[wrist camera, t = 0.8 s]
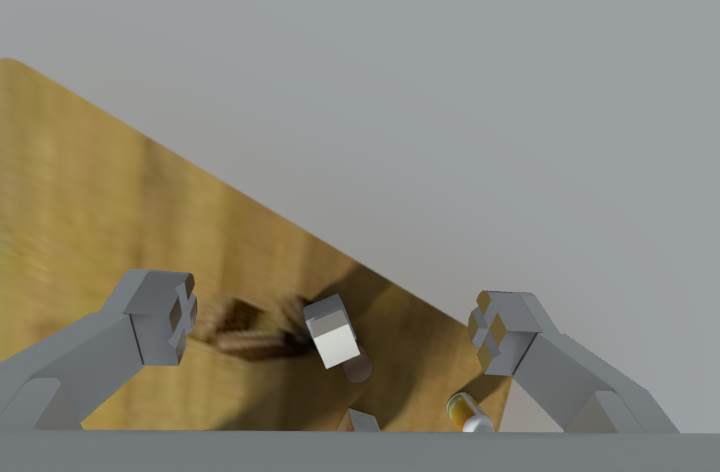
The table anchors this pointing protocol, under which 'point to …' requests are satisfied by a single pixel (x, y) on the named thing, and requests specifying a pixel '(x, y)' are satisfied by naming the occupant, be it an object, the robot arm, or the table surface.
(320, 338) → the top block
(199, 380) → the table surface
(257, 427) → the table surface
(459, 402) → the supplement bottle
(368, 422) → the small box
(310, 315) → the base block
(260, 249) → the table surface
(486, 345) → the robot arm
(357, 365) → the walnut cylinder
